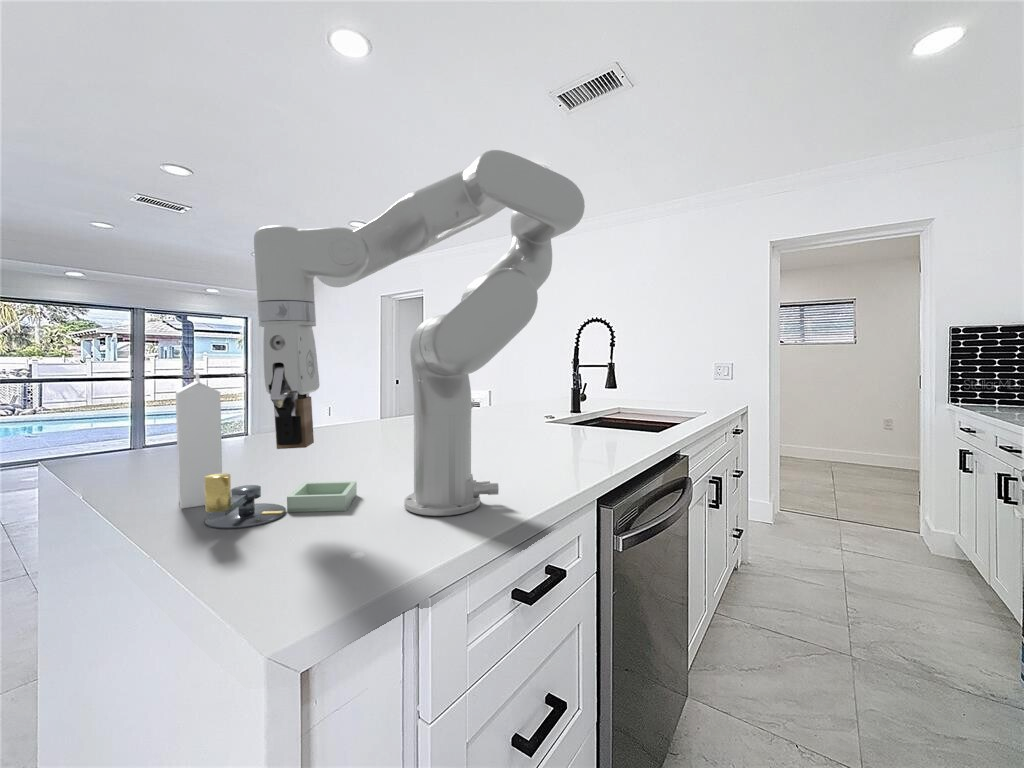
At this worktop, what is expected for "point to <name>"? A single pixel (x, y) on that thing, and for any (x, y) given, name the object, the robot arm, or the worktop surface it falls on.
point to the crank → (226, 494)
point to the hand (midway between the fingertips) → (295, 440)
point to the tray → (322, 497)
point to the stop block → (302, 423)
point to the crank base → (247, 516)
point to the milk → (197, 440)
